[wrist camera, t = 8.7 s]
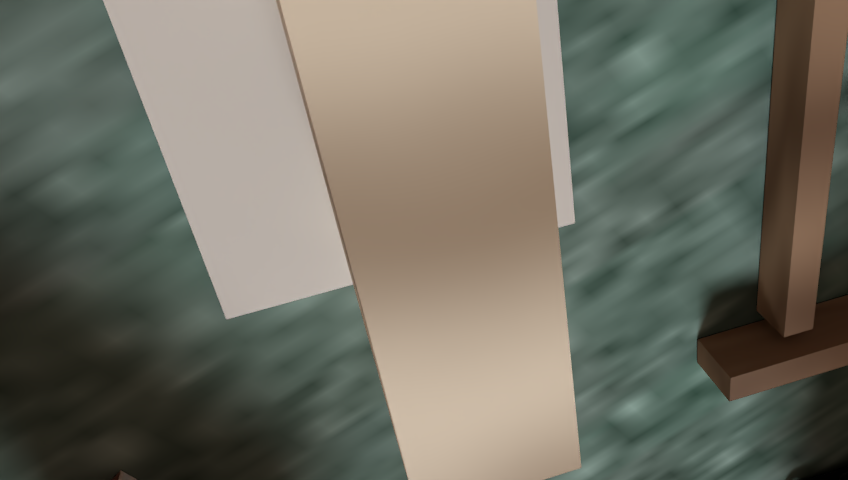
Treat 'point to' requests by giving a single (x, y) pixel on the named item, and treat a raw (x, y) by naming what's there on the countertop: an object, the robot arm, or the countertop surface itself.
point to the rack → (792, 215)
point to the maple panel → (447, 223)
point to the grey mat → (262, 142)
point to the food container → (122, 476)
